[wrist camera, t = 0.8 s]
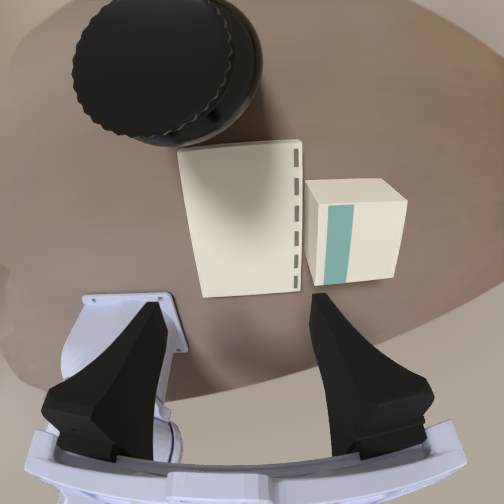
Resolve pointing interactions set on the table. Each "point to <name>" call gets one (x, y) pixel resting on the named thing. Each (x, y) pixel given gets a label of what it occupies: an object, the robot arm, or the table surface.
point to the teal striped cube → (352, 229)
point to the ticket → (245, 215)
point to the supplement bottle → (167, 69)
